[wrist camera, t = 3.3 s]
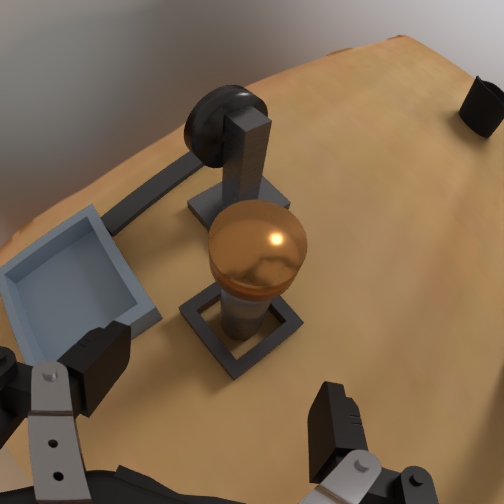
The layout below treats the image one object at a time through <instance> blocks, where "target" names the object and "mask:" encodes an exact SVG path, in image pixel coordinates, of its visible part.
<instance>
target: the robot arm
mask: <svg viewBox="0 0 504 504" xmlns="http://www.w3.org/2000/svg"><path fill="white" fill-rule="evenodd" d="M130 345H131V327H130V326H128V325H126V324H123V323H120V322H118V321H115V320H113V321H112V322H110V323H109V324H108V325H107V326H106V327H105V328H101V327H98V328H95V329H93V330H90V331H88V332H87V333H86V334H85V335H84V336H83V337H82V339H80V340H78V341H77V343H76V344H74V345H73V346H72V347H71V348H70V349H69V350H67V351H66V352H65V353H64V354H63V355H62V356H61V357H60V358H59V359H58V360H57V361H53V360H45V361H41V362H39V363H37V364H36V365H35V366H30V365H26V364H23V363H19V362H17V361H16V357H15V354H14V352H13V351H12V350H11V349H9V348H6V347H1V346H0V449H1V448H2V447H3V445H4V444H5V443H6V441H7V440H8V439H9V438H10V436H11V435H12V434H13V432H14V431H15V430H16V429H17V427H18V426H19V425H20V424H21V422H22V421H23V420H24V419H25V417H26V418H28V433H29V448H30V459H31V468H32V476H33V483H34V486H30V487H26V488H21V489H17V490H12V491H7V492H1V493H0V504H246V503H241V502H236V501H231V500H227V499H222V498H218V497H210V496H194V495H183V494H178V493H176V492H174V491H172V490H171V489H169V488H167V487H165V486H164V485H162V484H160V483H159V482H157V481H155V480H154V479H152V478H150V477H148V476H146V475H143V474H141V473H138V472H135V471H133V470H130V469H128V468H126V467H123V466H121V465H119V467H118V468H117V470H116V472H114V471H106V470H92V471H87V470H86V467H85V463H84V459H83V454H82V450H81V445H80V440H79V435H78V430H77V424H76V418H77V416H78V415H79V414H82V415H84V416H86V417H88V418H89V417H90V416H91V414H92V413H93V412H94V410H95V409H96V408H97V406H98V405H99V403H100V402H101V401H102V399H103V398H104V397H105V395H106V394H107V393H108V391H109V390H110V389H111V387H112V386H113V385H114V383H115V382H116V381H117V380H118V378H119V377H120V376H121V374H122V373H123V372H124V370H125V369H126V367H127V365H128V362H129V359H130ZM308 447H309V483H316V484H319V485H317V486H316V487H315V488H314V489H313V490H312V491H311V492H310V493H309V494H308V495H307V496H306V497H305V498H304V499H303V500H302V501H300V502H299V503H298V504H439V503H438V499H437V495H436V491H435V487H434V484H433V480H432V477H431V475H430V474H429V473H428V472H427V471H426V470H425V469H423V468H421V467H418V466H410V467H407V468H405V469H404V470H403V471H402V472H401V473H399V472H395V471H392V470H389V469H385V468H383V467H381V463H380V461H379V459H378V458H377V457H376V456H375V455H374V454H372V453H370V452H369V451H368V447H367V442H366V438H365V433H364V429H363V426H362V421H361V418H360V412H359V408H358V406H357V405H356V403H355V402H354V400H353V399H352V398H349V397H346V395H345V391H344V386H343V385H342V384H338V383H332V382H327V381H325V382H324V383H323V384H322V386H321V388H320V390H319V392H318V394H317V396H316V398H315V400H314V402H313V404H312V406H311V408H310V411H309V414H308Z"/></svg>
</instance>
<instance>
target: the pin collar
mask: <svg viewBox="0 0 504 504" xmlns="http://www.w3.org/2000/svg"><path fill="white" fill-rule="evenodd" d="M220 299H221V287H220V286H219V285H218V283H217V282H215V283H213V284H212V285H210V286H209V287H207V288H206V289H204V290H203V291H201V292H200V293H199V294H197V295H196V296H194V297H193V298H191V299H190V300H188V301H187V302H185V303H184V304H183V305H181V306H180V307H178V308H179V310H180V313H181V314H182V316H183V317H184V318H185V320H186V321H187V322H188V324H189V325H190V326H191V328H192V329H193V330H194V332H195V333H196V334H197V335H198V337H199V338H200V339H201V341H202V342H203V343H204V345H205V346H206V347H207V348H208V350H209V351H210V352H211V353H212V355H213V356H214V357H215V358H216V360H217V361H218V362H219V363H220V365H221V366H222V367H223V368H224V370H225V371H226V372H227V373H228V374H229V376H230V377H231V378H232V379H233V380H235V379H237V378H238V377H239V376H241V375H242V374H243V373H244V372H246V371H247V370H248V369H250V368H251V367H252V366H253V365H255V364H256V363H257V362H258V361H260V360H261V359H262V358H263V357H265V356H266V355H267V354H268V353H270V352H271V351H272V350H273V349H275V348H276V347H277V346H278V345H280V344H281V343H282V342H283V341H284V340H286V339H287V338H288V337H289V336H290V335H292V334H293V333H294V332H295V331H296V330H297V329H299V328H300V327H301V326H302V324H303V323H304V322H303V321H302V320H301V319H300V318H299V316H298V315H297V314H296V313H295V312H294V311H293V310H292V309H291V307H290V306H289V305H288V304H287V303H286V302H285V301H284V300H283V298H282V297H281V296H280V295H279V296H278V297H276V298H273V299H272V300H271V302H270V305H269V307H268V309H269V311H270V312H271V313H272V314H273V315H274V316H275V317H276V319H277V320H278V321H279V322H280V323H281V324H282V325H281V326H280V327H279V328H277V329H276V330H275V331H274V332H272V333H271V334H270V335H269V336H268V337H266V338H265V339H264V340H262V341H261V342H260V343H259V344H257V345H256V346H255V347H254V348H252V349H251V350H250V351H248V352H247V353H246V354H245V355H243V356H242V357H241V358H239V359H238V360H236V359H235V358H234V357H233V356H232V354H231V353H230V352H229V351H228V350H227V348H226V347H225V346H224V345H223V343H222V342H221V341H220V340H219V338H218V337H217V336H216V335H215V333H214V332H213V331H212V330H211V328H210V327H209V326H208V325H207V323H206V322H205V321H204V319H203V318H202V317H201V316H200V313H202V312H203V311H205V310H206V309H208V308H209V307H210V306H212V305H213V304H215V303H216V302H217V301H219V300H220Z"/></svg>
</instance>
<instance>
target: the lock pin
mask: <svg viewBox="0 0 504 504" xmlns="http://www.w3.org/2000/svg"><path fill="white" fill-rule="evenodd" d="M208 241H209V261H210V269H211V272H212V275H213V277H214V279H215V281H216V282H217V283H218V285H219V286H220V287H221V326H222V329H223V331H224V332H225V334H226V335H228V336H229V337H230V338H232V339H235V340H246V339H249V338H251V337H252V336H254V335H255V334H256V332H257V331H258V329H259V327H260V324H261V322H262V320H263V318H264V316H265V313H266V311H267V309H268V307H269V305H270V302H271V300H272V299H273V298H276V297H278V296H279V295H281V294H282V293H284V292H285V291H286V290H287V289H288V288H289V287H290V285H291V284H292V282H293V281H294V279H295V277H296V275H297V273H298V271H299V269H300V268H301V266H302V264H303V262H304V259H305V257H306V253H307V238H306V234H305V231H304V229H303V227H302V225H301V223H300V222H299V221H298V219H297V218H296V217H295V216H294V215H293V214H292V213H291V212H290V211H288V210H287V209H285V208H284V207H282V206H280V205H278V204H275V203H272V202H269V201H264V200H245V201H241V202H237V203H235V204H232V205H230V206H228V207H227V208H225V209H224V210H223V211H222V212H220V213H219V214H218V216H217V217H216V218H215V220H214V221H213V223H212V225H211V228H210V231H209V238H208Z"/></svg>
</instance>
